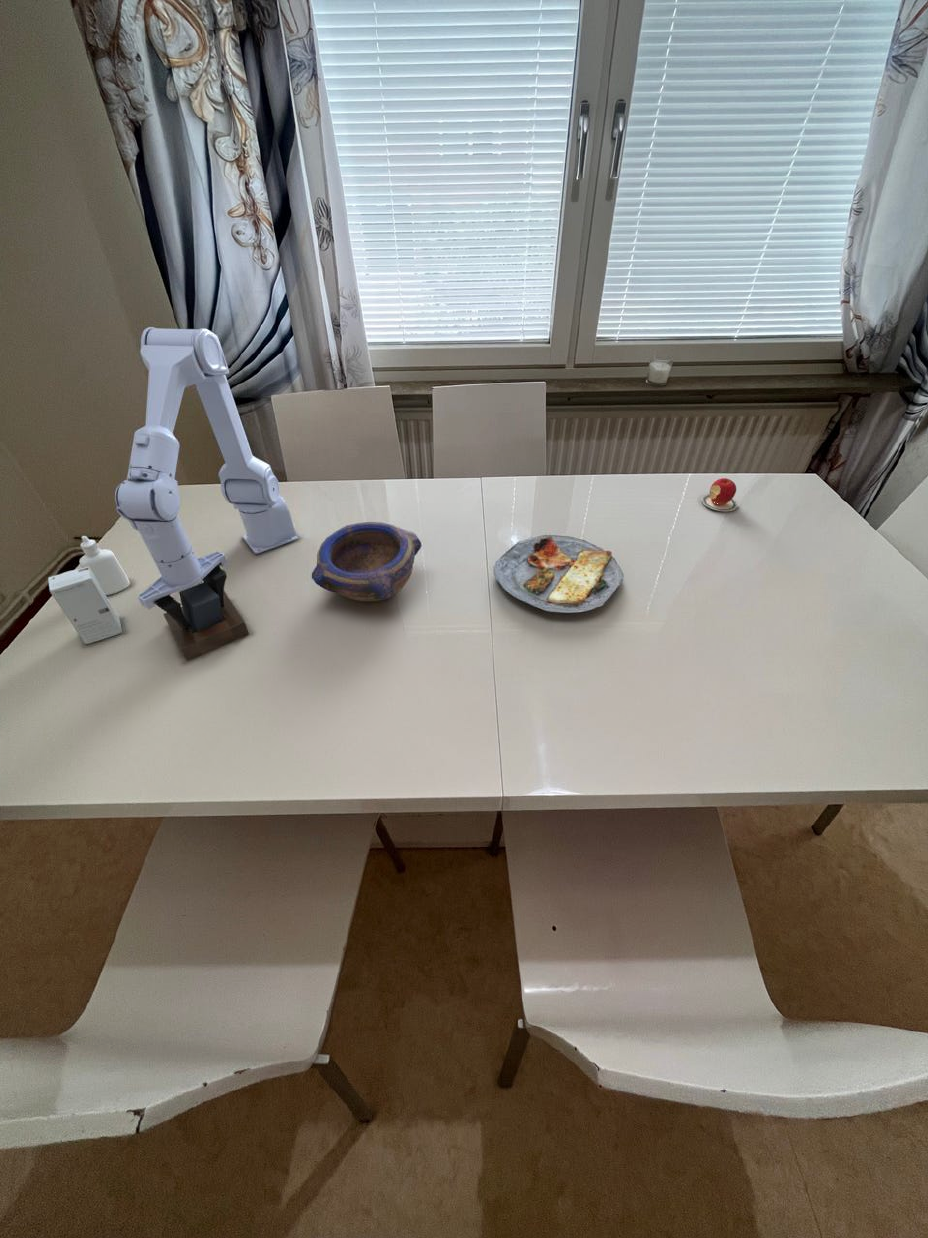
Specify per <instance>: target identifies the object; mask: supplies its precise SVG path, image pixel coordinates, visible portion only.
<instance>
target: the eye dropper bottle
mask: <svg viewBox="0 0 928 1238" xmlns="http://www.w3.org/2000/svg"><path fill="white" fill-rule="evenodd" d="M81 540H82V542H81V543H80V545H79V546H80V549H81V550H82V551H83V553H84V555H83V556H82V557H80V558H79V565H80V567H81V568H85V567H90V569H91V571H92V573H93V574H94V576H95V578H96V580H97V581H98V583H99V585H100V586H101V588H102V590H103V592H104V593H105V595H106V596H109V595H114V594H116V593H119V592H121V591H123V590H125V589H127V588H129V587H130V585H131V581H130V580H129V578H128V576H127V574H126V573H125V571H124V569H123V567H122V566H121V564H120V562H119V560H118V558H117V557H116V555H115V554H114V552H113V551H112V550H111V549H105V548H103V549H101V548H100V546H99V544H98V543H97V541H96V540H94V539H89V537H88V536H86V535H82V536H81Z"/></svg>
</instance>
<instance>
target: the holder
mask: <svg viewBox="0 0 928 1238" xmlns="http://www.w3.org/2000/svg"><path fill="white" fill-rule="evenodd" d="M181 609H182V612H183V608H182V606H181ZM221 611H222V618H223V621H222V622H219V623H217V624H215V625H212V626H210V627H207V628H205V629H202V630H200V631H198V632H195V631H194V632H193V633H192V631H190V630H191V629H189V630H187V631H186V630H184V629H183V628H182V627H180V626H179V624H178V623H177V622H176V621H175V620H174V619H173V618H172V617H171V616H170V615H169V614H168V613H167V612H165V613H162V614H163V617H164V619H165V621H166V623H167V626H168V627H169V629H170V631H171V632H172V635H173V638H174V639H175V642H176V643H177V646H178V647H179V650H180V651H181V653H182V655H183V657H184V659H185V661H186V662H189V661H190V660H193V659H195V658H198V657H200V656H202V655H204V654H207V653H210V652H211V651H214V650H216V649H219V648H221V647H224V646H225V645H227V644H230V643H232V642H234V641H237V640H239V639H242V638H245V637H246V636H248V635H250V632H249V629H248V627H247V624H246V622H245V620H244V619H243V617H242V615H241V614H240V612H239V611H238V609H237V608H236V606H235V604H233V602H232V600H231V598H230V597H229V596H228V594H227V593H226V591H225V590H224V607H223V608H221ZM183 615H184V613H183Z"/></svg>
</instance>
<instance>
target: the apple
mask: <svg viewBox="0 0 928 1238" xmlns="http://www.w3.org/2000/svg"><path fill="white" fill-rule="evenodd" d="M736 493H737V485H736V483H735V482H734V481H732V480H731V479H729V478H727V477H721V478H718V479H716V480H715V481H714V482H713V483H712V484H711V486H710V489H709V493H708V494H705V495H703V496H702V497H701V503H702V504H703V505H704V506H706V507H707V508H708V509H711V510H714V511H718V512H731V511H734V510H736V509H737V508H738V503H737V501H736V500H735V499H733V498H734V497H735V495H736ZM714 502H715V503H714ZM717 503H718V504H717Z"/></svg>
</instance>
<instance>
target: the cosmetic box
mask: <svg viewBox="0 0 928 1238" xmlns="http://www.w3.org/2000/svg"><path fill="white" fill-rule="evenodd" d="M47 579H48V587H49V588H48V589H49V593H50V594H51V596H52V597H53V599H54V600H55V601H56V603H57V605H58V607H60V609H61V610H62V612H63V613H64V615H65V616H66V618H67V620H68V621H69V622H70V624H71V626H72V627H73V628H74V629H75V631H76V633H77V634H78V636H79V637H80V638H81V640H82V641H83V643H84V644H85V645H90V644H93V643H96V642H99V641H102V640H105V639H107V638H110V637H114V636H116V635H119V634H122V633H123V629H122V624H121V619H120V617H119V615H118V613H117V612H116V610H115V609H114V606H113V605H112V603H111V602H110V600H109V599H108V596H107V595H105V593H104V592H103V590H102V588H101V586H100V585H99V583H98V581H97V580H96V578H95V576H94V574H93V573H92V571H91V569H90V567H85V568H82V567H81V568H78V569H73V570H68V571H65V572H62V573H59V574H56V575H52V576H49V577H47Z"/></svg>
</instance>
